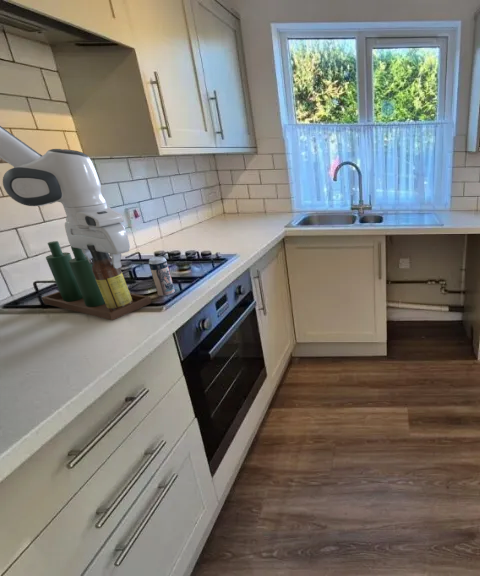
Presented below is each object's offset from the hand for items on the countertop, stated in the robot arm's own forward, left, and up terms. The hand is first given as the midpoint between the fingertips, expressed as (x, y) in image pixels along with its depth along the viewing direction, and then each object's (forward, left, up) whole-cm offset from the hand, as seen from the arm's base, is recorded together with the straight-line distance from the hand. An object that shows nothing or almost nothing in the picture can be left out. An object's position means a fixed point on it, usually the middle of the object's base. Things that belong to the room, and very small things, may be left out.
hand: (105, 265), depth 99 cm
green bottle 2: (-11, 0, -13) cm, 17 cm away
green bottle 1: (-22, 0, -13) cm, 26 cm away
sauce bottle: (0, 0, -13) cm, 13 cm away
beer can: (+2, +13, -14) cm, 19 cm away
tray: (-11, 0, -14) cm, 18 cm away
